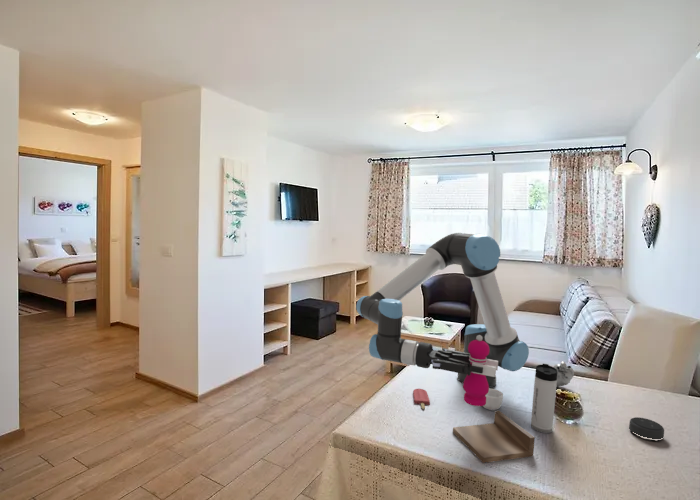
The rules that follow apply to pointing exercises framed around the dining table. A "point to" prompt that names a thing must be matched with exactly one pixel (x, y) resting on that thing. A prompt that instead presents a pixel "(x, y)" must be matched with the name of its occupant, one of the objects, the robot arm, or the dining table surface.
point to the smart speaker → (646, 428)
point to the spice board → (497, 439)
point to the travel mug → (544, 398)
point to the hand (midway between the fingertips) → (496, 368)
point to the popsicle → (421, 397)
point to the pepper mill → (475, 382)
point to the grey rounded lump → (563, 374)
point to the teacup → (493, 399)
